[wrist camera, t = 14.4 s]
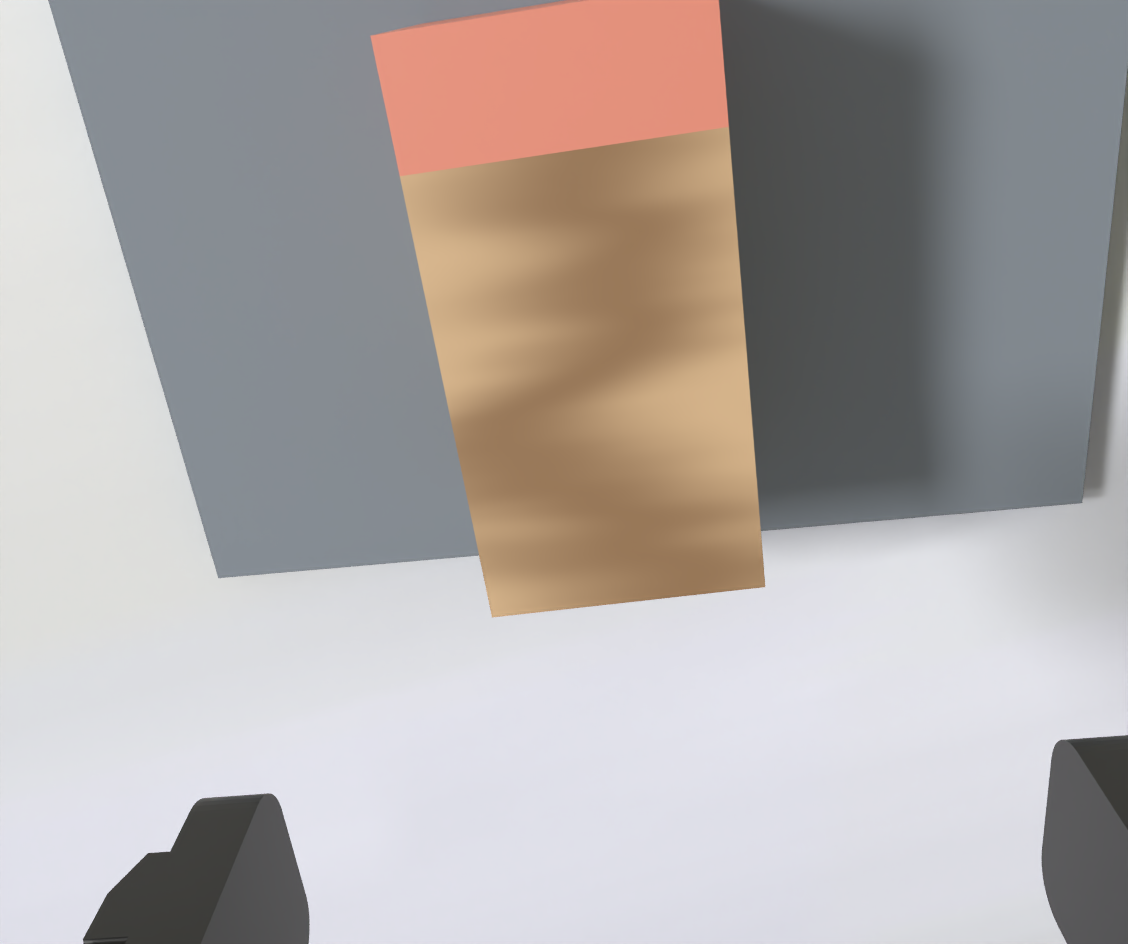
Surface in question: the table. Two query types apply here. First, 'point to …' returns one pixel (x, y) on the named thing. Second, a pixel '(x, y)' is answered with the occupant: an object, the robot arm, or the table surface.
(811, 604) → the table surface
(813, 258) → the mat
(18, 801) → the table surface
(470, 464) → the block
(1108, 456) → the table surface
